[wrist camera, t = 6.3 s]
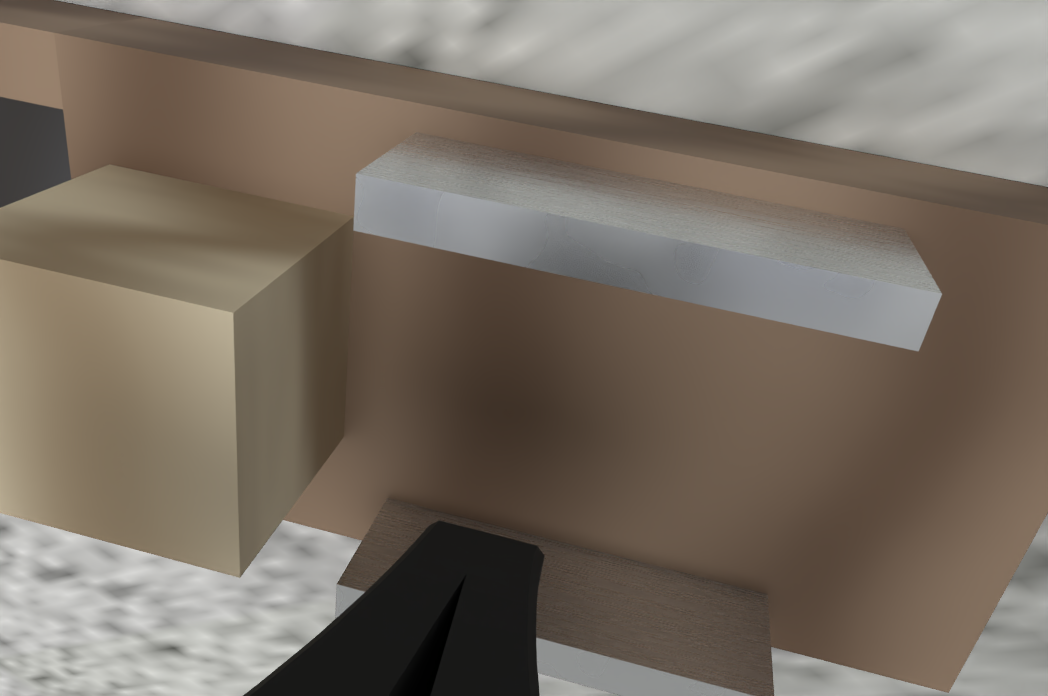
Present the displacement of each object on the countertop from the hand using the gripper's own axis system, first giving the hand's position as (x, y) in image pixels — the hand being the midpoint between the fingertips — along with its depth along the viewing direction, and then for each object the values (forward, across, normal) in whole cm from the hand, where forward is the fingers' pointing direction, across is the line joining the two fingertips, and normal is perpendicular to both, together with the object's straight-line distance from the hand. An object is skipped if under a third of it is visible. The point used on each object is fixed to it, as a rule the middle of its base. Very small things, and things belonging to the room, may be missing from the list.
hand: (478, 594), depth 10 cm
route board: (+8, +4, 0) cm, 9 cm away
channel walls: (+5, -1, 0) cm, 5 cm away
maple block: (+5, +6, 0) cm, 8 cm away
